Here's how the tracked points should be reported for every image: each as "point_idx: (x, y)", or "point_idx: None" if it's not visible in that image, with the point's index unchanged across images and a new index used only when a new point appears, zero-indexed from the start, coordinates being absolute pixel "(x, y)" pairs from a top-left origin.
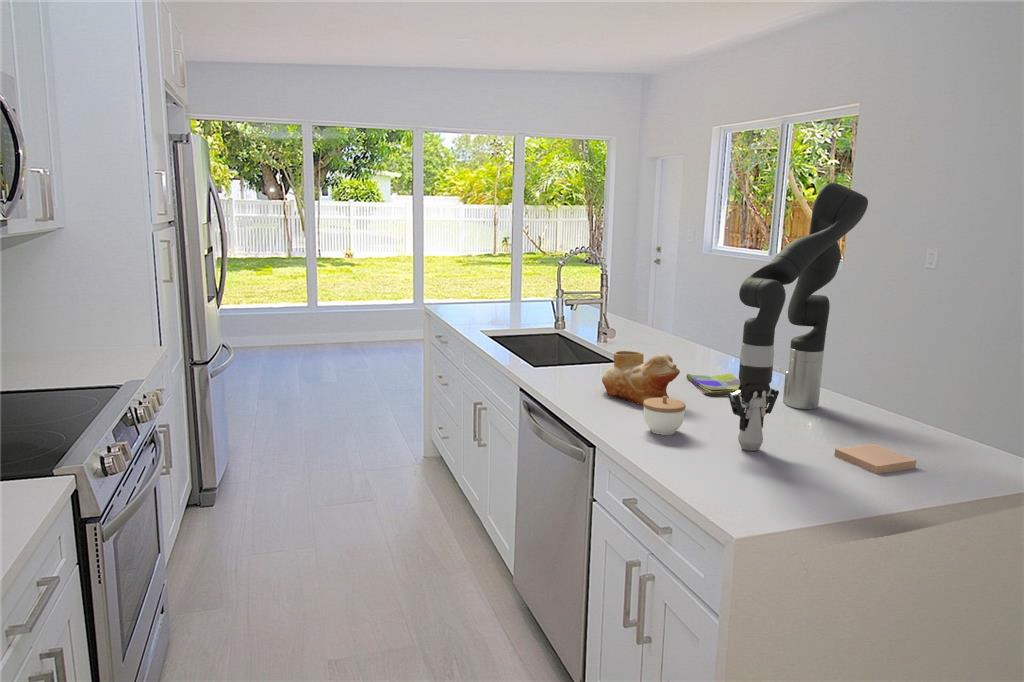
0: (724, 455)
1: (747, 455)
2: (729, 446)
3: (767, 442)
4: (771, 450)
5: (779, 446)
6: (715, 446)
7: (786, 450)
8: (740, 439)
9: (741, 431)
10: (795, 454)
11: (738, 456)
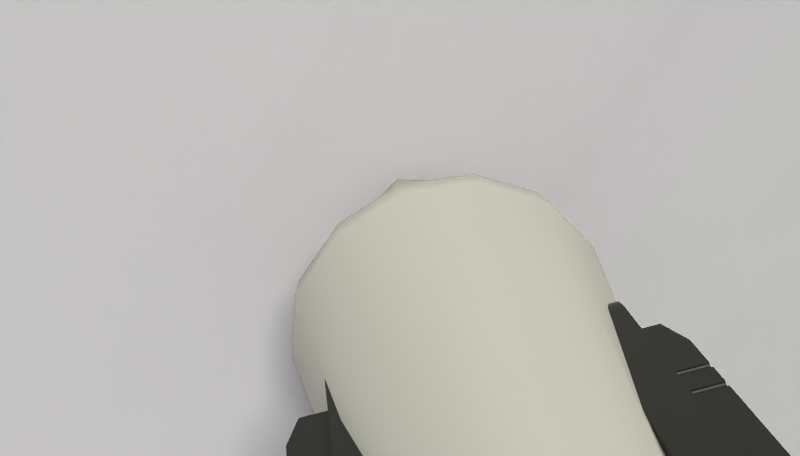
0: (49, 407)
1: (304, 409)
2: (226, 144)
3: (773, 51)
4: (628, 295)
5: (793, 192)
6: (27, 128)
7: (766, 302)
8: (294, 361)
9: (318, 412)
10: (759, 394)
11: (196, 431)
